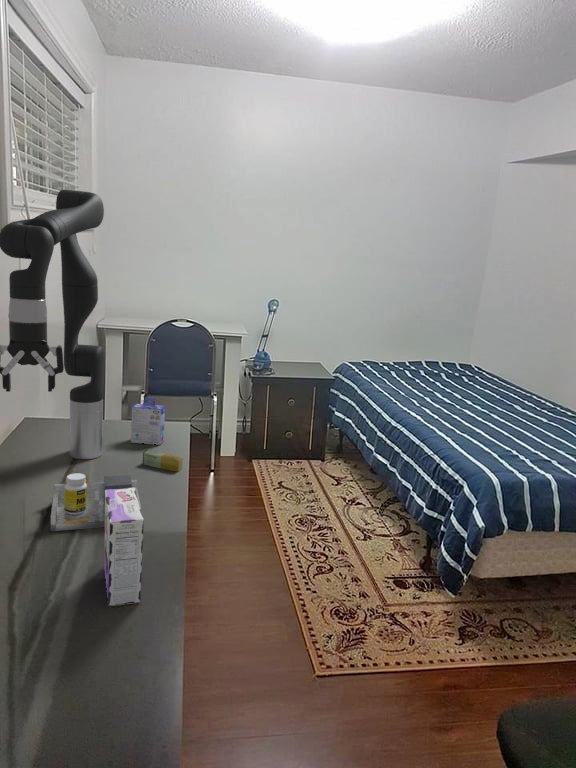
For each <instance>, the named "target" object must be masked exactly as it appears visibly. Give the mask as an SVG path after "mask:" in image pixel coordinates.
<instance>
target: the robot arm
mask: <svg viewBox="0 0 576 768" xmlns="http://www.w3.org/2000/svg"><path fill="white" fill-rule="evenodd" d="M104 207H105V206H104V202H103V199H102V198H101V197H100V196H99V195H98V194H96V193H94V192H90V191H82V190H72V189H61V190H59V192H58V193H57V196H56V200H55V209H53V210H48V211H45V212H42V213H40V214H38V215H36V216H35V217H34V218H33V217H32V218H29V219H28V218H27V219H23V220H17V221H16V220H15V221H12V222H9V223H6V225H4V227H2V228H1V230H0V250H1V251H2V252H3V253H4V254H5V255H7V256H8V257H10V258H14V259H23V260H25V259H26V260H31V261H30V263H29V265H28V267H27V268H25V269H24V268H23V269H16V270H12V271H11V272H10V274H9V278H8V280H9V305H8V313H7V314H8V315H7V316H8V326H9V327H8V329H9V330H8V331H9V335H8V336H9V342H8V345H5V344H0V362H1V361H2V359H1V356H3V355H4V354H5V352H6V351H7V352H8V354H9V355H10V356H11V357H12V358H11V360H10V361H9V362H8V363H7V364H6V365H5V366H1V365H0V374H1V376H2V388H3V390H5V392H9V393H10V392H11V389H12V384H11V383H12V380H11V378H12V377H11V373H10V372H11V371H12V370H13V368H14V367H15V366H16V365H17V364H19V365H20V366H27V365H29V366H37V365H40V366H41V367H42V368H43V369H44V370H45V372H47V374H48V375H47V391H48V392H50V393H51V392H52V391H53V390H54V389H55V387H56V375H58V374H63V372H64V371H65V374H67V376H72V377H86V378H90V381H89V382H87V383H86V384H83V385H79V386H75V387H73V388H71V389H70V391H69V456H70V457H71V458H73V459H76V460H77V459H79V460H91V459H96V458H99V457H101V456H102V455H103V443H104V442H103V441H104V438H103V437H104V436H103V433H104V431H103V429H104V425H103V424H104V384H105V383H104V380H105V379H104V377H105V364H106V353H105V350H104V348H103V346H101V345H93V344H79V334H80V331H81V330H82V327H83V326H84V324H85V323H86V320H88V318H89V317H90V315H91V314H92V312H93V311H94V309H95V308H96V306H97V304H98V299H99V293H98V291H99V290H98V288H99V287H98V276H97V274H96V272H95V270H94V268H93V266H92V265H91V263H90V262H89V260H88V258H87V257H86V256H85V254H84V252H83V251H82V248H81V247H80V244H79V241H78V235H77V234H79V233H81V232H85V231H87V230H92V229H96V228H98V227H100V226H101V224H102V223H103V220H104V216H105V208H104ZM58 244H59V245H60V256H61V257H60V259H61V287H62V288H61V294H62V304H63V305H62V306H63V320H64V329H63V330H64V333H63V335H64V337H63V339H64V340H63V346H62V345H61V344H59V345H57V346H49V344H48V309H47V308H48V307H47V303H46V278H47V276H48V275H47V274H48V269H49V266H50V264H51V263H50V262H51V260H52V256H53V253H54V249H55V246H56V245H58ZM50 352H51V354H52V355H53V356H54V357H56V366H57V367H53V365H52V364H51V363H50V362H49V360H48V359H47V358H46V357H47V355H49V353H50Z"/></svg>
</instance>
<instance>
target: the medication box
mask: <svg viewBox="0 0 576 768" xmlns="http://www.w3.org/2000/svg"><path fill="white" fill-rule="evenodd" d="M142 465H144V466H150V467H154V468H159V469H163V470H168V471H173V472H178V473H179V472H181V471H182V470H183V457H182V456H177V455H173V454H167V453H163V452H158V451H153V450H148V449H146V450H145V451H143V452H142Z"/></svg>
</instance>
